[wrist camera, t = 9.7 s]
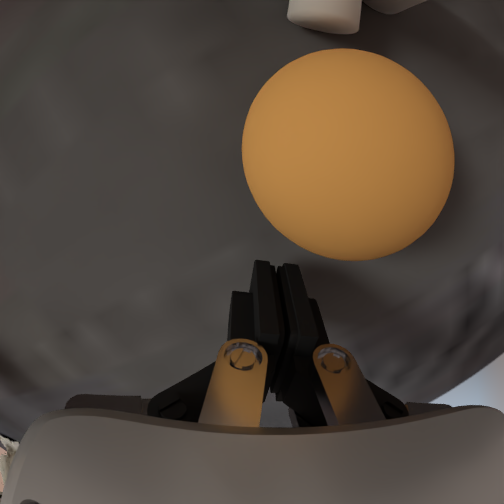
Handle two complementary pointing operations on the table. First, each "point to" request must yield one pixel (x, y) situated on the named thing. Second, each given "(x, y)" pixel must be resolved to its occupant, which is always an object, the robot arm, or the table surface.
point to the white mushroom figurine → (7, 458)
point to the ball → (348, 154)
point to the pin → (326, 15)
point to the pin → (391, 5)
